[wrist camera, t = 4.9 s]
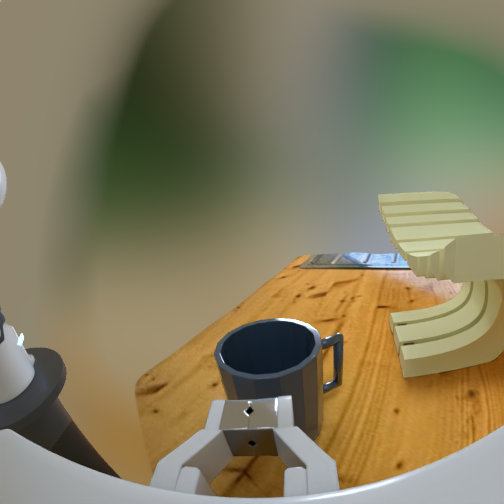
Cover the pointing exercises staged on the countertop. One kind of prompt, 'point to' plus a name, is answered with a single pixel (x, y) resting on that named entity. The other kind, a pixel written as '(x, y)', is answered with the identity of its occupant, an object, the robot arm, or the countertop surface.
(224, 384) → the mug
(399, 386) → the countertop surface
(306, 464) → the robot arm
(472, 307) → the slatted lounge chair
